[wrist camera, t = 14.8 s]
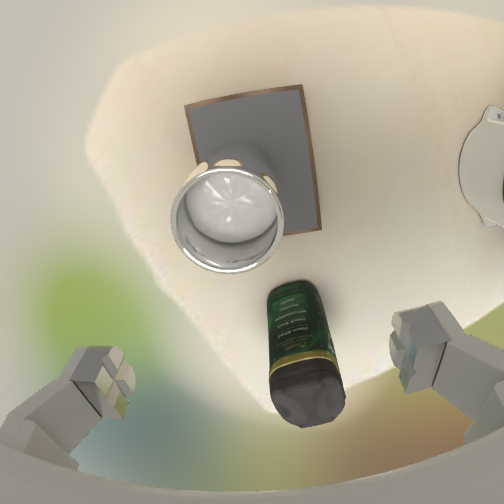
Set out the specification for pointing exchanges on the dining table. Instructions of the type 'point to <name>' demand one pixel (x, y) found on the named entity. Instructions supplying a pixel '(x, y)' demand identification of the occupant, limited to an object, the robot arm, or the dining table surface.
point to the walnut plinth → (265, 143)
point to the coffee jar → (302, 357)
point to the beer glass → (229, 211)
